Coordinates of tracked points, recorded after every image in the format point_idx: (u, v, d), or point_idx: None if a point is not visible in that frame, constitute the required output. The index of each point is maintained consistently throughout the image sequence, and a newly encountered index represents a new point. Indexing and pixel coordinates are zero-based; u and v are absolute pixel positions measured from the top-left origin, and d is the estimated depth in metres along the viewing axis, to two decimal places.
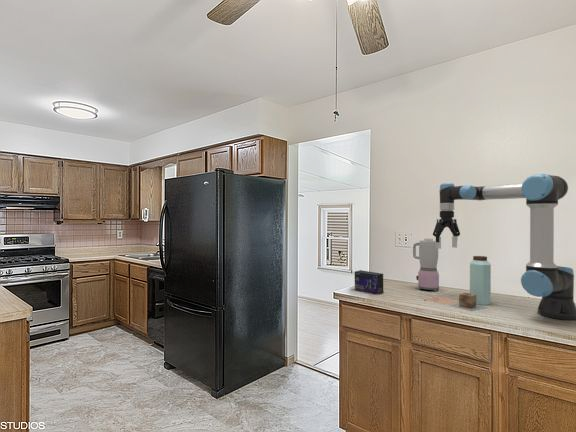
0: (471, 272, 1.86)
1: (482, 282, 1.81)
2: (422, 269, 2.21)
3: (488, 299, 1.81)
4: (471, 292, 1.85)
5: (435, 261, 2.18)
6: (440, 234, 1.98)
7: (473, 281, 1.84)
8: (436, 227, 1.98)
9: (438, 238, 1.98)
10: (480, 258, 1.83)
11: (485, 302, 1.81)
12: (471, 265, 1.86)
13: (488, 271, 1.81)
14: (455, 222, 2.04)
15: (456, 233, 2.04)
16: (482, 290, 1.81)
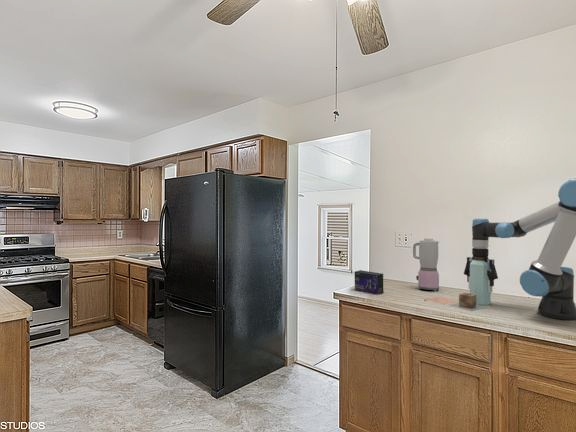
0: (471, 272, 1.86)
1: (482, 282, 1.81)
2: (422, 269, 2.21)
3: (488, 299, 1.81)
4: (471, 292, 1.85)
5: (435, 261, 2.18)
6: (469, 273, 1.90)
7: (473, 281, 1.84)
8: None
9: (468, 278, 1.91)
10: (480, 258, 1.83)
11: (485, 302, 1.81)
12: (471, 265, 1.86)
13: None
14: (489, 263, 1.80)
15: (489, 276, 1.80)
16: (482, 290, 1.81)
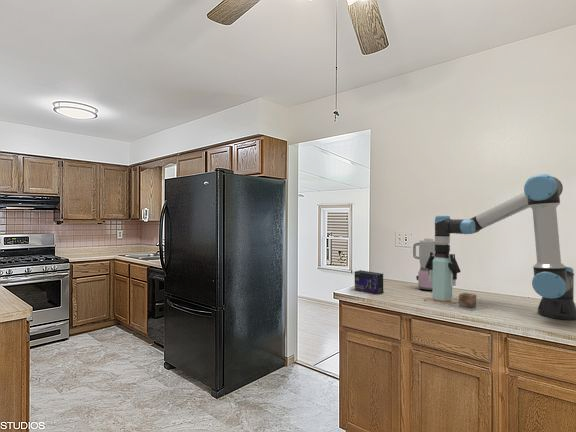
0: (434, 269, 1.91)
1: (443, 278, 1.86)
2: (422, 269, 2.21)
3: (449, 295, 1.87)
4: (433, 288, 1.91)
5: None
6: (430, 267, 1.96)
7: (435, 277, 1.89)
8: None
9: (429, 271, 1.98)
10: (442, 255, 1.88)
11: (446, 298, 1.86)
12: (434, 262, 1.91)
13: (449, 268, 1.87)
14: (450, 257, 1.85)
15: (451, 270, 1.84)
16: (443, 286, 1.86)
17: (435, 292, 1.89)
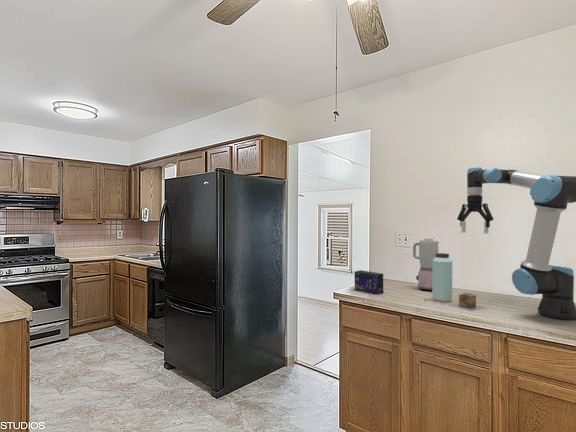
0: (433, 269, 1.91)
1: (443, 278, 1.86)
2: (422, 269, 2.21)
3: (449, 295, 1.87)
4: (433, 288, 1.91)
5: None
6: (462, 219, 2.05)
7: (435, 277, 1.89)
8: None
9: (461, 222, 2.06)
10: (442, 255, 1.88)
11: (446, 298, 1.86)
12: (433, 262, 1.91)
13: (449, 267, 1.87)
14: (483, 206, 1.94)
15: (485, 218, 1.93)
16: (443, 286, 1.86)
17: (435, 292, 1.89)
